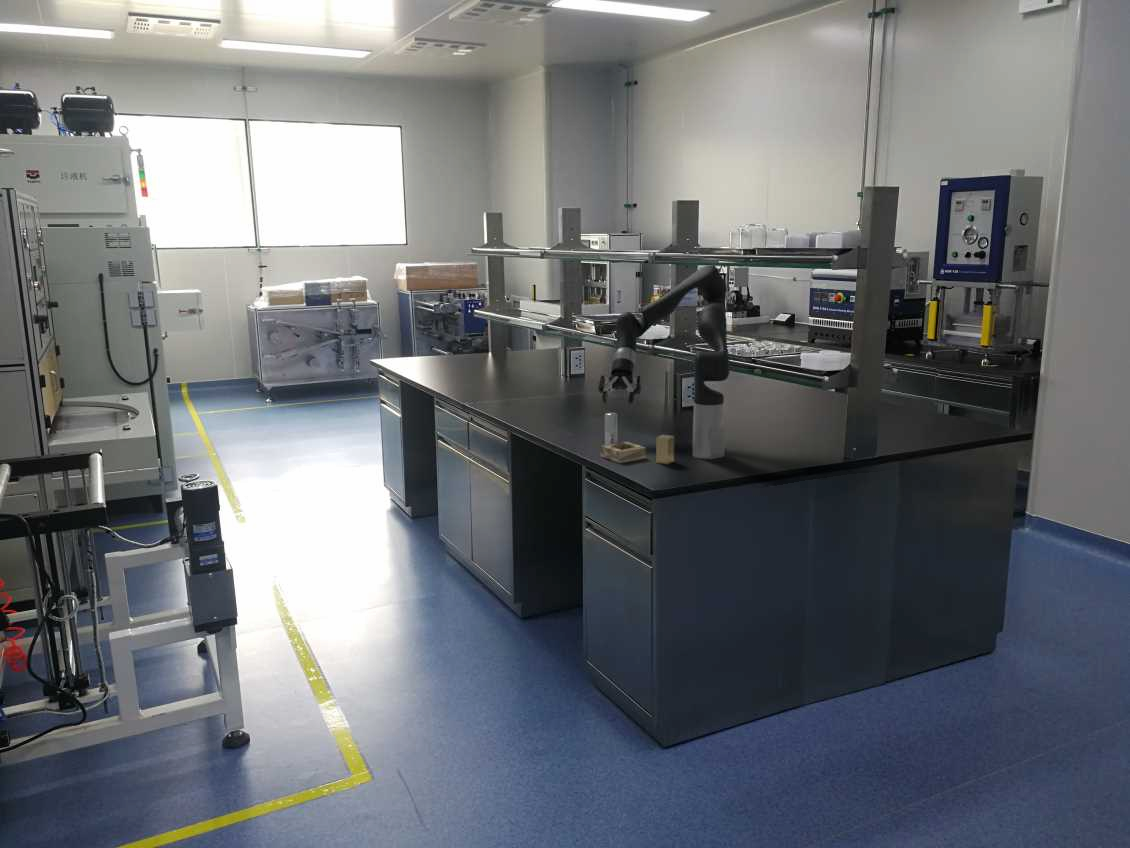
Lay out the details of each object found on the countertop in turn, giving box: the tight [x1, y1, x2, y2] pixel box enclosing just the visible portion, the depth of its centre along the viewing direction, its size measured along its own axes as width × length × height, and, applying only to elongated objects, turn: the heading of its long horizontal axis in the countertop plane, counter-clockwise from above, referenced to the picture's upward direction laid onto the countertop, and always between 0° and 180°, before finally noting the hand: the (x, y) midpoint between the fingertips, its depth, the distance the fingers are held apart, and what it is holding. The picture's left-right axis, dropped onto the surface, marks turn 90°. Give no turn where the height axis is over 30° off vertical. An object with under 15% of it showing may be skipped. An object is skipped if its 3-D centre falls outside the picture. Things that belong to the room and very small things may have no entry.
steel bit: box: [604, 412, 618, 445], centre depth 277 cm, size 4×4×12 cm
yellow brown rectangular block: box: [655, 434, 675, 465], centre depth 262 cm, size 4×4×8 cm
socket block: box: [600, 440, 646, 464], centre depth 268 cm, size 10×10×4 cm
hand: (617, 403), depth 285 cm, fingers open, 8 cm apart
